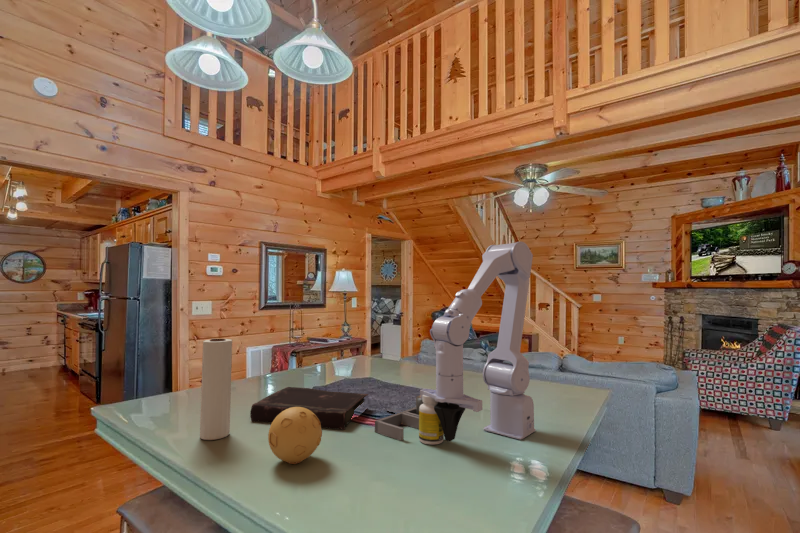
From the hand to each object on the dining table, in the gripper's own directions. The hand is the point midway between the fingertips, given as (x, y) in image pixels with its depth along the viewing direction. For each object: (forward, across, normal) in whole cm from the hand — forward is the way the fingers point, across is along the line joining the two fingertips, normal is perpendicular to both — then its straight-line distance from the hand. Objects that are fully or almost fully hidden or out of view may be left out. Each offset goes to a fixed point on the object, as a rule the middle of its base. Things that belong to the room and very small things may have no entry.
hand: (449, 439), depth 83 cm
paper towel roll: (+2, -43, -30) cm, 52 cm away
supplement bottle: (+2, -5, 0) cm, 5 cm away
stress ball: (+2, -18, -26) cm, 32 cm away
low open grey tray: (+1, -18, +4) cm, 19 cm away
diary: (+2, -39, -6) cm, 40 cm away
